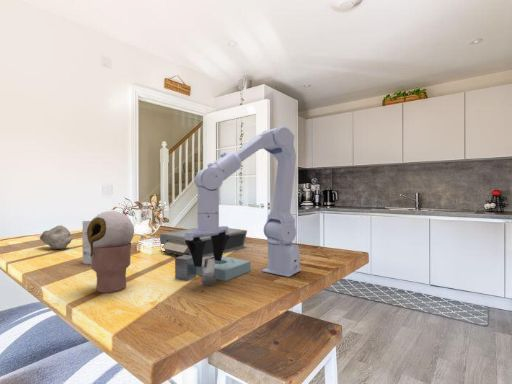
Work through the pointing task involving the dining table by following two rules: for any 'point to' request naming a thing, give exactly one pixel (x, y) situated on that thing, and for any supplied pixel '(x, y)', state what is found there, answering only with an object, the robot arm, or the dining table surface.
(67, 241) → the stone
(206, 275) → the round bit
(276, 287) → the dining table surface
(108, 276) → the ice cream cone
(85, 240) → the ink box
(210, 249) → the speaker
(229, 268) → the socket block
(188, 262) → the square bar
